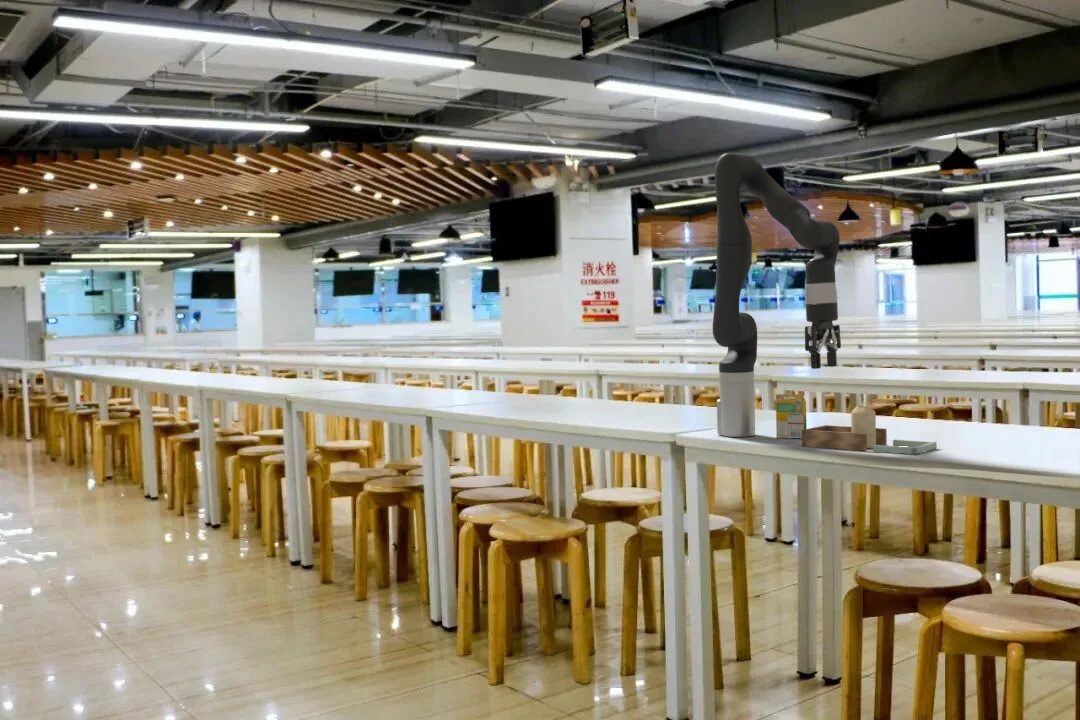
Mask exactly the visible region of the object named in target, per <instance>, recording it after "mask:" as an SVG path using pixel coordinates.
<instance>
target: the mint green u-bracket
mask: <svg viewBox="0 0 1080 720" xmlns="http://www.w3.org/2000/svg"><path fill="white" fill-rule="evenodd" d="M899 446H908V447H899ZM935 448H938V447H937V442H936V441H924V440H910V439H909V440H908V439H907V440H905V439H893V440H892V445H873V448H872V452H873V451H874V453H884V452H890V453H889V454H897V453H907V454H906V455H910V454H917V455H919V454H918V453H921V452H924V451H927V452H929V451H928V450H930V451H932V450H931V449H934V450H936V449H935ZM924 453H925V452H924ZM921 454H922V453H921Z"/></svg>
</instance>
